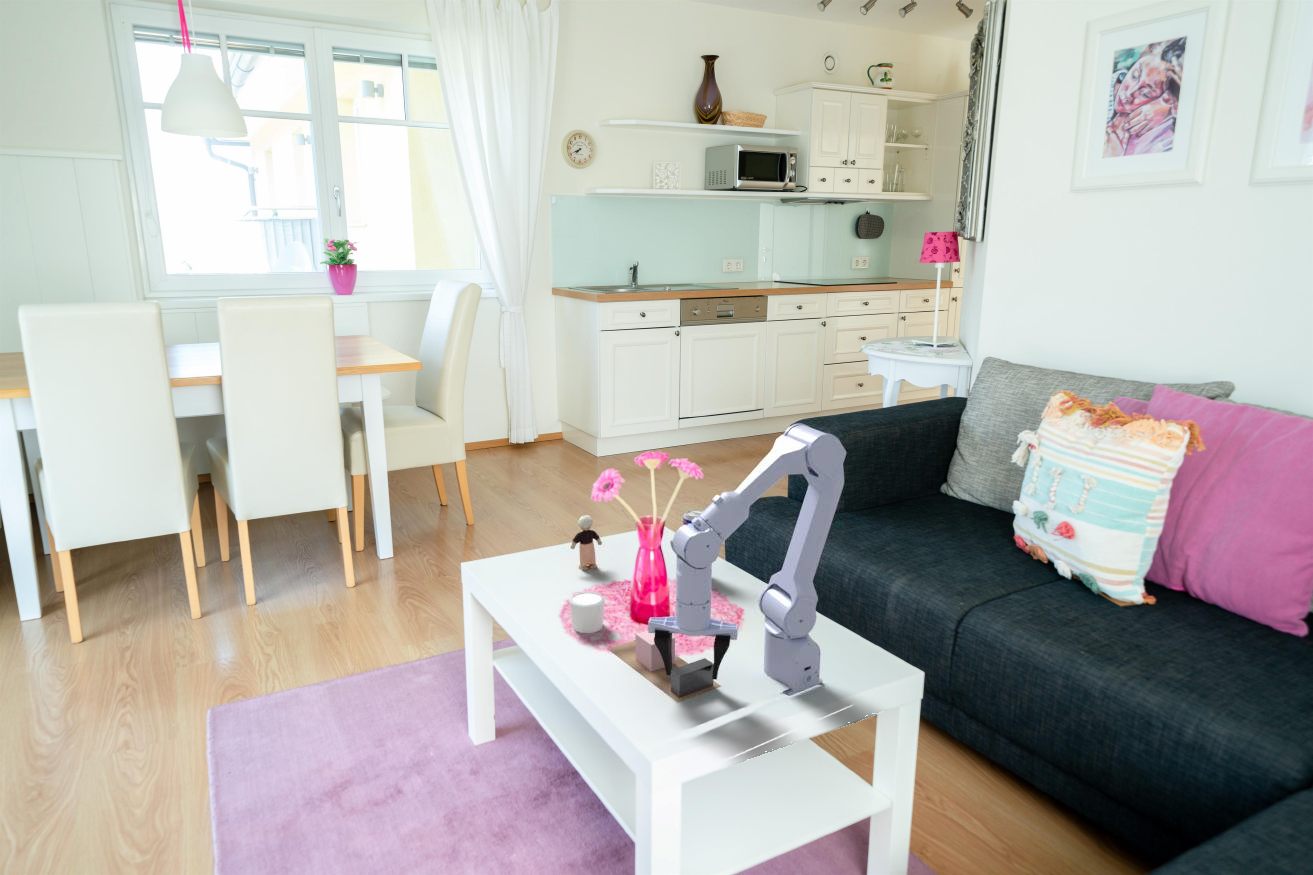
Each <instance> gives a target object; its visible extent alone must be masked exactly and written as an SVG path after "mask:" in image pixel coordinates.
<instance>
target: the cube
mask: <svg viewBox="0 0 1313 875" xmlns="http://www.w3.org/2000/svg"><path fill="white" fill-rule="evenodd" d="M654 637H655V633H648V629H647V630H645V631H641V632H638V633H635V640H636V660H637V661H638V662H639V663H641V664H642V665H643V666H645V667H646V668H647V669H649V670H650V671H651V672H652V671H655V670H658V669H661V668H664V667H665V666H664V662H663V659H662V656H661V654H660V652H659V650H658V648H657V647H656V645H655V643H654ZM675 655H676V637H675V636H673V635H672V664H675Z"/></svg>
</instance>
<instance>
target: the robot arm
mask: <svg viewBox="0 0 1313 875" xmlns="http://www.w3.org/2000/svg"><path fill="white" fill-rule="evenodd" d="M775 439H776V440H775V441H774V444H773V447H772V449H771V450H770V452H769V453H768V454H767V455H766V456H765V457H764V458H763V459H762V460H761V461H760V462H759V464H758V465H757V466H756V467H754V469H753V470H752V471H751V473H749V474H748V475H747V476H746V478H745V479H744V480H743V481H742V482H741V483H740V485H739V486H738V487H737V488H736V489H735V490H733V491H723V492H722V493H721V494H720V495H719V494H716V495H714V497H712V499H711V501H712V502H711V503H710V504H709V505H708V506H707V507H706V508H705V509H704V510H702V511H703V512H702V513H701V514H700V515H699V516H698V517H697V518H696V517H695V518H694V519H693V520H692V521H691V522H692V524H688V525H683V524H682V526H680V527H679V528H678V529H677V530H676V532H674V534H673V535H674V536H673V538H672V539H671V540H670V542H669V544H670V547H671V550H672V551H673V553H674V554H675V555H676V569H675V570H676V572H675V616H662V617H654V616H653V617H649V619H648V621H647V623H648V624H647V625H648V626H647V627H648V628H647V630H648V633H655V637H654V643H655V645H656V647H657V648H658V650H659V652H660V654H661V656H662V659H663V662H664V666H665V670H666V675H671V670H672V636H673V634H679V635H684V636H690V637H699V636H702V637H703V636H705V637H714V641H713V664H714V666H713V674H712V679H713V680H718V674H719V669H720V666H721V663H722V661H723V659H724V657H725V655H726V653H727V651H728V649H729V648H730V644H731V640H732V641H734V640H735V641H737V640H738V632H739V630H738V629H739V627H738V626H739V624H738V623H731V622H727V621H722V620H717V619H713V618H711V614H712V613H711V612H712V576H713V575H712V574H713V573H712V572H713V570H712V569H713V568H712V567H713V566H712V565H713V563H714V562H716V561H717V559H718V557H719V555H720V550H721V547H722V546H723V545H724V542H725V541H726V540H727V539H728V538H729V537H730V536H731V535H732V534H733V533H734V532H735V531H736V530H737V529H738V528H739V527H741V525H742V524H743V523H744V522H746V520H747V519H748V518H749V515H750V508H751V506H752V505H753V504H754V503H755V502H756V501H757V500H759V499H760V498H761V497H762V496H763V495H765V493H767V492H768V491H769V490H770V489H771V488H772V487H774V486H775V485H776V484H777V483H778V482H779V481H781V479H783V478H784V477H785V476H789V475H803V477H804V478H805V479H806V481H807V483H808V486H807V490H806V494H805V496H804V499H803V503H802V506H801V508H800V510H799V511H800V512H799V514H798V518H797V521H796V524H795V527H794V530H793V534H792V536H791V540H790V543H789V546H788V549H787V552H786V555H785V559H784V561H783V565H782V568H781V570H779V571H778V572H776V573H774V574H772V575H770V579H769V581H768V584H767V585H766V587H765V588H764V589H763V590H762V592H761V593H760V596H759V598H758V607H759V611H760V612H761V613H762V614H763V616H764V649H763V650H764V651H763V672H764V674H765V675H766V676H768V677H770V678H771V679H773V680H777V681H779V682H781V683H783V684H785V685H786V686H789V687H790V688H788V689H785V690H783V691H782V693H784V694H786V695H787V696H793V695H795V694H798V693H801V692H803V691H805V690H808V689H810V688H813V687H814V686H817V685H819V684H820V685H821V684H822V683H823V679H822V678H821V677H820V672H821V671H820V670H821V669H820V668H821V649H820V648H821V647H820V645H819V644H818V643H817V642H816V641H814V639H813V638H812V637H811V636H810V634H809V633H810V632H811V631H812V630H813V629H814V628H815V624H816V621H817V610H816V609H817V604H818V601H819V596H818V595H817V590H816V589H815V585H814V582H813V581H814V578H815V575H816V572H817V569H818V566H819V564H820V563H819V562H820V560H821V557H822V553H823V549H824V547H825V544H826V541H827V538H828V535H829V532H830V529H831V526H832V523H833V520H834V516H835V513H836V510H837V507H838V503H839V501H840V498H841V495H842V492H843V488H844V485H845V472H844V461H845V459H846V456H847V451H846V449H845V447H844V446H843V443H842V442H841V441H840V439H839V438H838V437H837V436H835V435H833V434H831V433H826V432H823V431H821V430H817V429H815V428H812V427H810V426H808V425H806V424H805V423H794V424H792V425H790V426H789V427H787V429H785V431H784V433H783V434H781V435H780V436H779V437H777V438H775Z"/></svg>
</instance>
